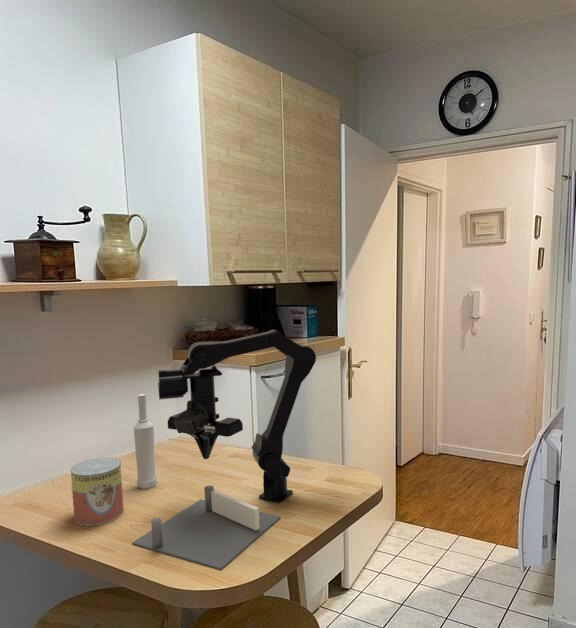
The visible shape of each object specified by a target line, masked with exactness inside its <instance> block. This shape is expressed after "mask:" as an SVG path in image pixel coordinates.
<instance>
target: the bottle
mask: <svg viewBox="0 0 576 628" xmlns="http://www.w3.org/2000/svg"><path fill="white" fill-rule="evenodd" d="M137 402H138V415H139V416H138V417H139V418H138V420H137V423H136V424H135V425H134V426H133V435H134V437H133V438H134V449H135V459H136V470H137V479H136V485H137V487H138V488H139V489H141V490H149V489H151V488H153V487H155V486H156V485H157V476H156V463H155V461H156V459H155V458H156V457H155V435H154V433H155V432H154V423H152V422H151V421H149V418H148V415H147V414H148V413H147V396H146V393H141V394H138V395H137Z"/></svg>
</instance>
